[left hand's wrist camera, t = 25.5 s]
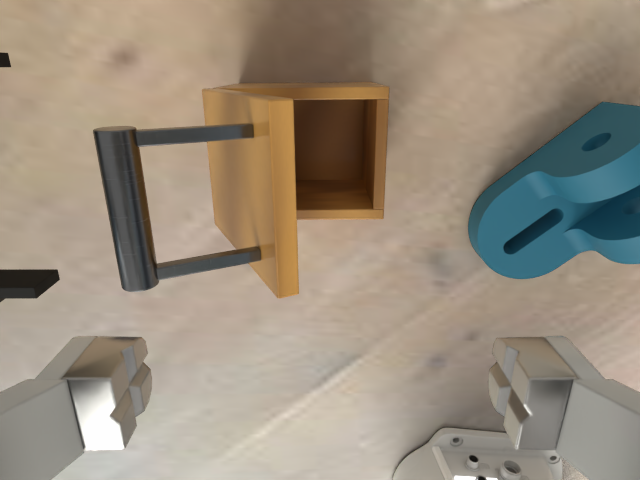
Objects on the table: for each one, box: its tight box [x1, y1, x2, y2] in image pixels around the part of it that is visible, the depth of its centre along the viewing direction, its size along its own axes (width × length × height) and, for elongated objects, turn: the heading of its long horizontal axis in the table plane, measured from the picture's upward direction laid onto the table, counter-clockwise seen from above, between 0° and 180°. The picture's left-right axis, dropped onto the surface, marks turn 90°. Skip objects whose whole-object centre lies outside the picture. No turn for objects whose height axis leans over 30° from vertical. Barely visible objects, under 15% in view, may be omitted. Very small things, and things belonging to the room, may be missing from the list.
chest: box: [213, 82, 389, 220], centre depth 40 cm, size 13×10×11 cm
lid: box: [93, 88, 299, 298], centre depth 27 cm, size 14×10×9 cm
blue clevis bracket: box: [468, 102, 640, 279], centre depth 42 cm, size 18×10×10 cm, turn 131°
